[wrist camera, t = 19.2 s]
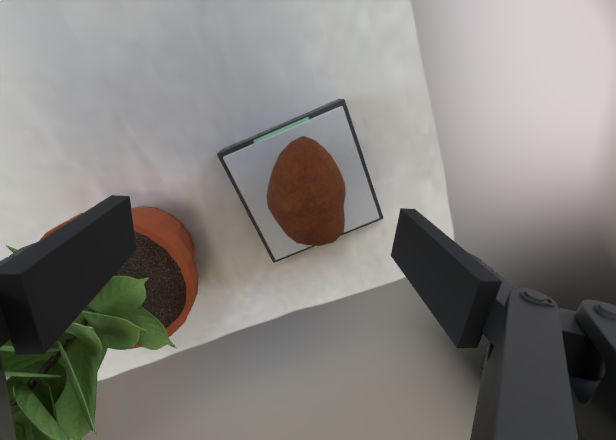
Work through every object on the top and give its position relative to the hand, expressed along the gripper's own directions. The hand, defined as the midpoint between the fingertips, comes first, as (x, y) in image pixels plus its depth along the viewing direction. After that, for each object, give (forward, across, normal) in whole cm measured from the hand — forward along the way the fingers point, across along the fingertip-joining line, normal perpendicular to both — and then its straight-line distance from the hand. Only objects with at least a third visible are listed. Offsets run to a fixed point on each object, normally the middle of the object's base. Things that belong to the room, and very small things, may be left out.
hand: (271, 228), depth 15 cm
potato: (+18, +4, -3) cm, 18 cm away
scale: (+21, +4, -3) cm, 21 cm away
